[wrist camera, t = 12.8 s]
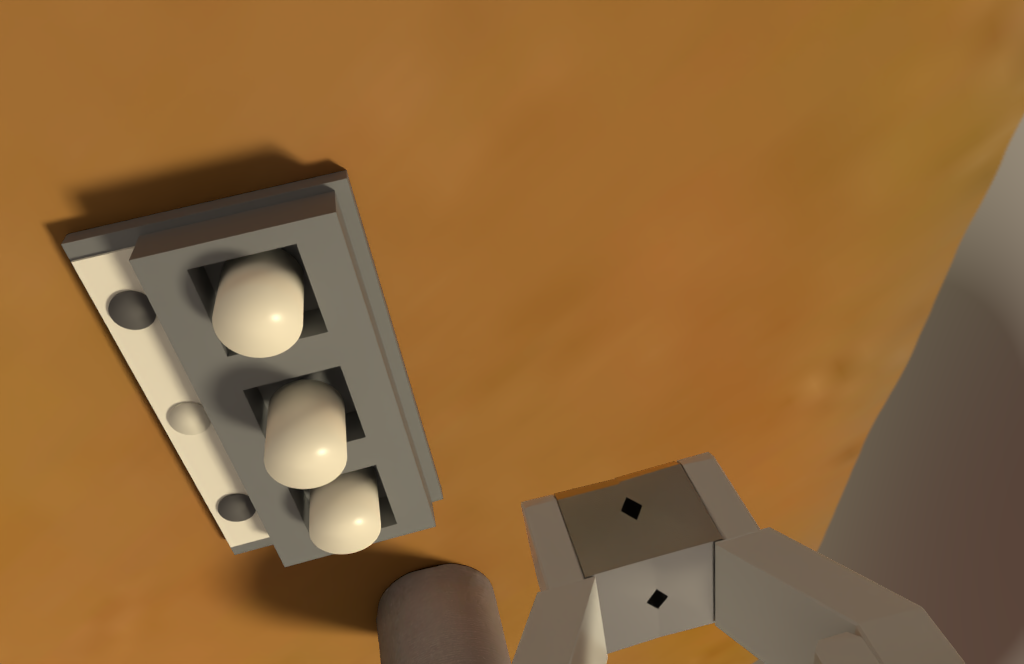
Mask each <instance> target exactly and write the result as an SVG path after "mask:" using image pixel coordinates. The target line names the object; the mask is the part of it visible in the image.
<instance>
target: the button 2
mask: <svg viewBox="0 0 1024 664" xmlns="http://www.w3.org/2000/svg"><path fill="white" fill-rule="evenodd" d="M346 462H347V443H346V422H345V405H344V401H343V398H342V396H341V395H340V393H339V392H338V391H337V390H336V389H335V388H334V387H332V386H330V385H329V384H327V383H324V382H321V381H317V380H308V379H305V380H297V381H293V382H290V383H288V384H286V385H284V386H282V387H281V388H279V389H278V390H277V391H276V392H275V393H274V394H273V396H272V397H271V399H270V402H269V406H268V416H267V428H266V440H265V453H264V464H265V468H266V470H267V472H268V474H269V475H270V476H271V477H272V478H273V479H274V480H275V481H277V482H278V483H280V484H282V485H285V486H287V487H291V488H296V489H311V488H317V487H320V486H323V485H326V484H328V483H330V482H331V481H333V480H334V479H336V478H337V477H338V476H339V475H340V474H341V473H342V471H343V470H344V468H345V466H346Z"/></svg>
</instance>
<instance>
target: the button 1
mask: <svg viewBox="0 0 1024 664" xmlns="http://www.w3.org/2000/svg"><path fill="white" fill-rule="evenodd" d="M303 306H304V275H303V271H302V269H301V266H300V265H299V263H298V262H297V261H296V259H295V258H294V257H293V256H292V255H290V254H289V253H288V252H286V251H284V250H282V249H280V248H277V249H272V250H268V251H264V252H260V253H255V254H251V255H247V256H243V257H239V258H234V259H230V260H226V262H225V264H224V266H223V268H222V272H221V277H220V282H219V286H218V291H217V296H216V301H215V306H214V310H213V316H212V324H213V328H214V331H215V333H216V335H217V337H218V338H219V340H220V341H221V342H222V343H223V344H224V345H225V346H226V347H228V348H229V349H230V350H232V351H234V352H236V353H238V354H241V355H244V356H248V357H254V358H265V357H271V356H275V355H278V354H280V353H283V352H285V351H286V350H288V349H289V348H290V347H292V346H293V345H294V344H295V343H296V341H297V340H298V339H299V337H300V335H301V332H302V328H303Z"/></svg>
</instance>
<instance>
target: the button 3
mask: <svg viewBox="0 0 1024 664" xmlns="http://www.w3.org/2000/svg"><path fill="white" fill-rule="evenodd" d="M380 531H381V520H380V509H379V498H378V487H377V476H376V472H375V470H374V468H373V467H372V466H370V467H366V468H362V469H359V470H355V471H351V472H347V473H343V474H340V475H339V476H338V477H337V478H336V479H334V480H333V481H331V482H330V483H328V484H326V485H323V486H320V487H317V488H311V489H310V508H309V535H310V538H311V540H312V542H313V543H314V544H315V545H316V546H317V547H318V548H320V549H321V550H323V551H326V552H329V553H333V554H350V553H355V552H358V551H361V550H363V549H365V548H367V547H368V546H370V545H371V544H372V543H373V542H374V541H375V540H376V539H377V538H378V536H379V534H380Z"/></svg>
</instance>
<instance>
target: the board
mask: <svg viewBox="0 0 1024 664" xmlns="http://www.w3.org/2000/svg"><path fill="white" fill-rule="evenodd" d="M61 245H62V247H63V249H64V251H65V252H66V254H67V256H68V258H69V260H70V261H71V263H72V265H73V267H74V268H75V270H76V272H77V274H78V276H79V277H80V279H81V281H82V283H83V285H84V286H85V288H86V290H87V292H88V293H89V295H90V297H91V299H92V301H93V302H94V304H95V306H96V308H97V310H98V311H99V313H100V315H101V317H102V318H103V320H104V322H105V324H106V326H107V327H108V329H109V331H110V333H111V335H112V336H113V338H114V340H115V342H116V343H117V345H118V347H119V349H120V351H121V352H122V354H123V356H124V358H125V360H126V361H127V363H128V365H129V367H130V368H131V370H132V372H133V374H134V376H135V377H136V379H137V381H138V383H139V385H140V386H141V388H142V390H143V392H144V393H145V395H146V397H147V399H148V401H149V402H150V404H151V406H152V408H153V410H154V411H155V413H156V415H157V417H158V419H159V420H160V422H161V424H162V426H163V427H164V429H165V431H166V433H167V435H168V436H169V438H170V440H171V442H172V444H173V445H174V447H175V449H176V451H177V452H178V454H179V456H180V458H181V460H182V461H183V463H184V465H185V467H186V469H187V470H188V472H189V474H190V476H191V477H192V479H193V481H194V483H195V485H196V486H197V488H198V490H199V492H200V494H201V495H202V497H203V499H204V501H205V502H206V504H207V506H208V508H209V510H210V511H211V513H212V515H213V517H214V519H215V520H216V522H217V524H218V526H219V527H220V529H221V531H222V533H223V535H224V536H225V538H226V540H227V542H228V544H229V545H230V547H231V549H232V551H233V552H234V554H235V555H236V554H240V553H244V552H247V551H251V550H255V549H258V548H262V547H266V546H270V545H274V547H275V549H276V551H277V553H278V555H279V557H280V559H281V561H282V563H283V564H284V566H285V567H288V566H291V565H295V564H299V563H302V562H306V561H310V560H314V559H317V558H321V557H325V556H328V555H332V554H333V553H329V552H326V551H323V550H321V549H320V548H318V547H317V546H316V545H315V544H314V543H313V542H312V540H311V538H310V535H309V508H310V489H296V488H291V487H287V486H285V485H282V484H280V483H278V482H277V481H275V480H274V479H273V478H272V477H271V476H270V475H269V474H268V472H267V470H266V468H265V464H264V453H265V440H266V428H267V416H268V406H269V402H270V399H271V397H272V396H273V394H274V393H275V392H276V391H277V390H278V389H279V388H281V387H282V386H284V385H286V384H288V383H290V382H293V381H297V380H305V379H308V380H317V381H321V382H324V383H327V384H329V385H330V386H332V387H334V388H335V389H336V390H337V391H338V392H339V393H340V395H341V396H342V398H343V401H344V405H345V422H346V443H347V462H346V466H345V468H344V470H343V471H342V473H341V474H343V473H347V472H351V471H355V470H359V469H362V468H366V467H370V466H372V467H373V468H374V470H375V472H376V476H377V487H378V498H379V509H380V520H381V531H380V534H379V536H378V538H377V539H376V540H375V541H374V542H373V543H376V542H380V541H384V540H387V539H391V538H395V537H398V536H402V535H406V534H409V533H413V532H417V531H421V530H424V529H428V528H432V527H435V526H436V524H435V518H434V513H433V507H432V502H434V501H437V500H441V499H443V495H442V489H441V485H440V482H439V478H438V475H437V472H436V468H435V465H434V462H433V458H432V455H431V452H430V448H429V445H428V442H427V438H426V435H425V432H424V428H423V425H422V422H421V418H420V415H419V412H418V408H417V405H416V402H415V398H414V395H413V392H412V388H411V385H410V381H409V378H408V375H407V371H406V368H405V365H404V361H403V358H402V355H401V351H400V348H399V345H398V341H397V338H396V335H395V331H394V328H393V325H392V321H391V318H390V315H389V311H388V308H387V305H386V301H385V298H384V294H383V291H382V288H381V284H380V281H379V278H378V274H377V271H376V268H375V264H374V261H373V258H372V254H371V251H370V248H369V244H368V241H367V238H366V234H365V231H364V228H363V224H362V221H361V218H360V214H359V211H358V208H357V204H356V201H355V197H354V194H353V191H352V187H351V184H350V181H349V177H348V174H347V171H346V170H344V171H340V172H335V173H331V174H327V175H322V176H318V177H314V178H309V179H305V180H301V181H296V182H292V183H288V184H283V185H279V186H275V187H270V188H266V189H262V190H257V191H253V192H249V193H244V194H240V195H235V196H231V197H227V198H222V199H218V200H214V201H209V202H205V203H201V204H196V205H192V206H188V207H183V208H179V209H175V210H170V211H166V212H162V213H157V214H153V215H149V216H144V217H140V218H135V219H131V220H127V221H122V222H118V223H114V224H109V225H105V226H101V227H96V228H92V229H88V230H83V231H79V232H75V233H70V234H67V235H66V237H65V239H64V240H63V242H62V244H61ZM277 248H280V249H282V250H284V251H286V252H288V253H289V254H290V255H292V256H293V257H294V258H295V259H296V261H297V262H298V263H299V265H300V266H301V269H302V271H303V275H304V306H303V328H302V332H301V335H300V337H299V339H298V340H297V341H296V343H295V344H294V345H293V346H292V347H290V348H289V349H288V350H286V351H285V352H283V353H280V354H278V355H275V356H271V357H265V358H254V357H248V356H244V355H241V354H238V353H236V352H234V351H232V350H230V349H229V348H228V347H226V346H225V345H224V344H223V343H222V342H221V341H220V340H219V338H218V337H217V335H216V333H215V331H214V328H213V324H212V316H213V310H214V306H215V301H216V296H217V291H218V286H219V282H220V277H221V272H222V268H223V266H224V264H225V262H226V260H230V259H234V258H239V257H243V256H247V255H251V254H255V253H260V252H264V251H268V250H272V249H277ZM373 543H372V544H373Z"/></svg>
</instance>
